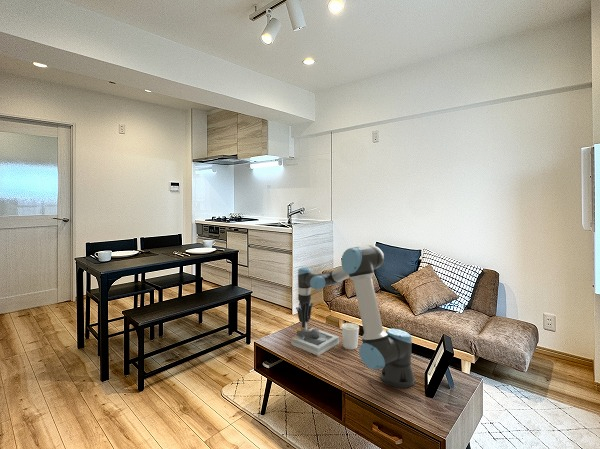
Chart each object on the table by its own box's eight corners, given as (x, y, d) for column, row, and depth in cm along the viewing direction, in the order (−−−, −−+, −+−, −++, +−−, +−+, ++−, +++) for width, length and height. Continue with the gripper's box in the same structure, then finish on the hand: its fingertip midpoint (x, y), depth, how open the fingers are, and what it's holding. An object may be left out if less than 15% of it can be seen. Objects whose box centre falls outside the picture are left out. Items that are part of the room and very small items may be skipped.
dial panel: (339, 343, 188) (339, 336, 188) (318, 355, 173) (318, 348, 173) (312, 333, 201) (312, 327, 201) (291, 344, 186) (291, 337, 186)
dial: (328, 337, 192) (328, 327, 191) (324, 346, 179) (324, 336, 179) (300, 333, 196) (300, 324, 196) (294, 342, 184) (294, 332, 183)
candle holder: (340, 348, 181) (340, 328, 180) (343, 341, 191) (343, 322, 190) (357, 351, 178) (357, 330, 177) (359, 343, 187) (360, 324, 187)
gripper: (306, 290, 196) (307, 327, 198) (292, 295, 187) (292, 333, 189) (316, 292, 191) (316, 330, 193) (302, 297, 182) (302, 337, 184)
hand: (304, 332), depth 191 cm, fingers closed
